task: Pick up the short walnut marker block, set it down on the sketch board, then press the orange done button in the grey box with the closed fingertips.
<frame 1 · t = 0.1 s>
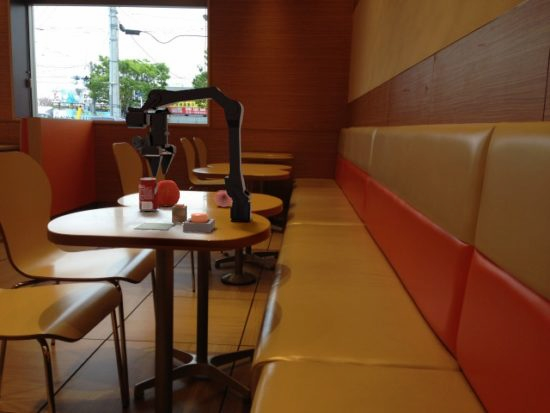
hand: (159, 175, 153), 14 cm above the table, fingers open, 9 cm apart
soda can: (148, 211, 167), on the table
button box: (199, 228, 139), on the table
done button: (199, 219, 138), point 3 cm above the table, slide at 0.0 cm
flower: (223, 206, 182), on the table
apple: (166, 206, 180), on the table
marker block: (179, 221, 150), on the table
sketch board: (155, 226, 140), on the table
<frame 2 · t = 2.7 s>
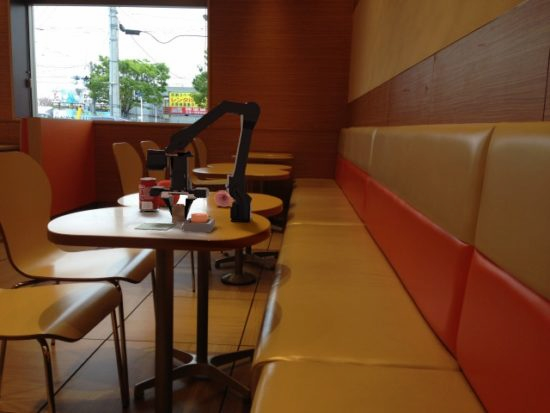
hand: (179, 217, 150), 1 cm above the table, fingers closed on marker block, 4 cm apart
marker block: (179, 221, 150), on the table, touching gripper
everything else where it was.
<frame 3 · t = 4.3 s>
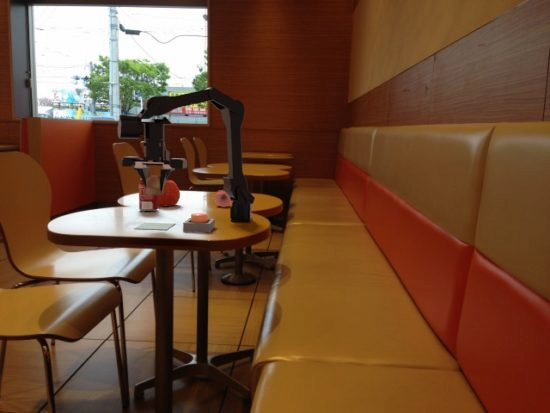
hand: (154, 190, 139), 11 cm above the table, fingers closed on marker block, 4 cm apart
marker block: (154, 194, 139), point 10 cm above the table, touching gripper
everything else where it was.
when the fingers open (2 cm above the table, at t = 6.2 s): marker block stays where it is, resting on sketch board.
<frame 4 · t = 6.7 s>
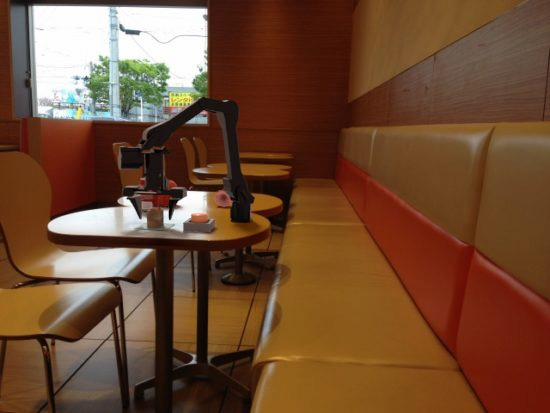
hand: (155, 219, 140), 2 cm above the table, fingers open, 9 cm apart
marker block: (155, 225, 140), resting on sketch board
everything else where it was.
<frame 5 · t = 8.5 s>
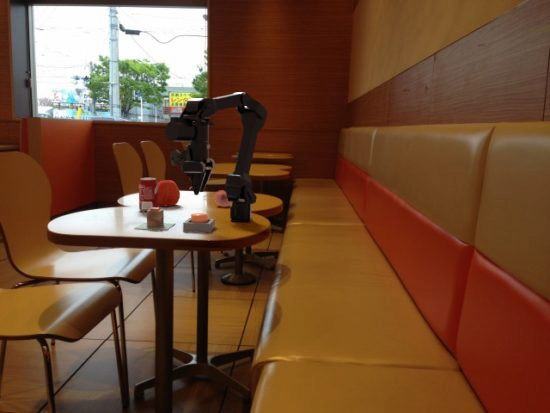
hand: (199, 193, 137), 11 cm above the table, fingers open, 7 cm apart
nothing on the table moved.
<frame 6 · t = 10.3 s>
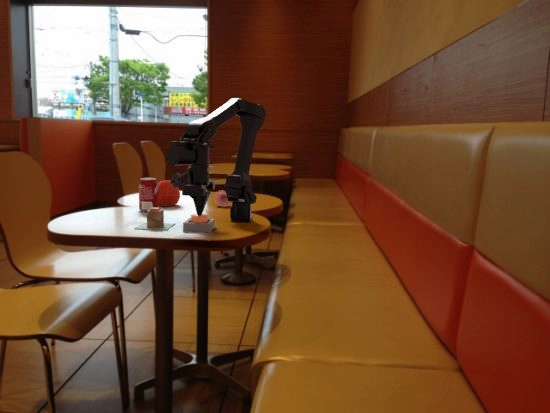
hand: (199, 215, 138), 4 cm above the table, fingers closed, pressing on done button
done button: (199, 220, 138), point 3 cm above the table, slide at 0.3 cm, touching gripper
everything else where it was.
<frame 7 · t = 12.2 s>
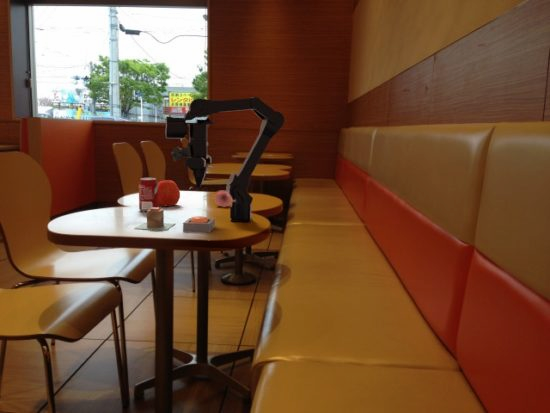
hand: (198, 187, 148), 11 cm above the table, fingers closed
done button: (199, 222, 138), point 2 cm above the table, slide at 1.0 cm
everything else where it was.
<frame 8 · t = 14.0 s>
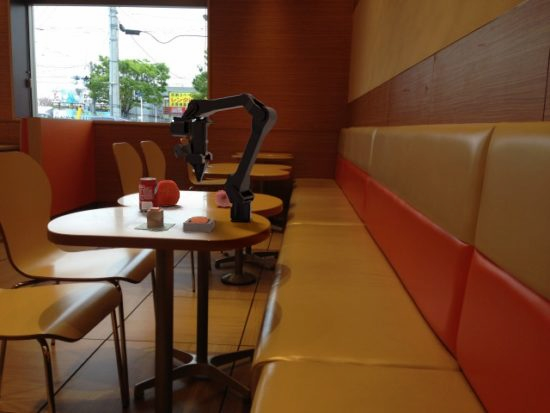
hand: (198, 181, 159), 12 cm above the table, fingers closed
nothing on the table moved.
at the end: marker block inside the target area on the sketch board (0.0 cm from its centre), point 0.2 cm above the sketch board's base; marker block tilted 0°; done button slide at 1.0 cm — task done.
